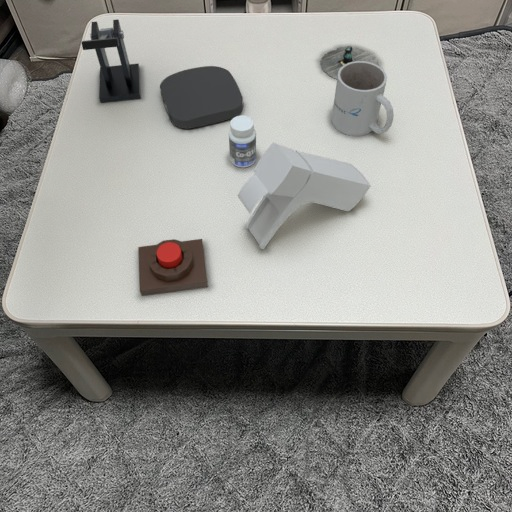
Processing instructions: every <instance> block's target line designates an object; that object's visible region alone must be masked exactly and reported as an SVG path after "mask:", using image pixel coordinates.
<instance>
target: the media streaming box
mask: <svg viewBox="0 0 512 512" xmlns="http://www.w3.org/2000/svg"><path fill="white" fill-rule="evenodd" d="M159 91H160V95H161V98H162V102H163V104H164V108H165V110H166V113H167V115H168V117H169V119H170V121H171V123H172V125H174V126H176V127H177V128H180V129H195V128H199V127H204V126H207V125H213V124H216V123H221V122H225V121H228V120H232V119H233V118H234V117H236V116H240V114H241V113H242V112H243V108H244V101H243V94H242V92H241V89H240V87H239V84H238V83H237V81H236V79H235V78H234V76H233V74H232V73H231V72H230V71H229V70H228V69H227V68H224V67H221V66H215V65H205V66H198V67H192V68H187V69H184V70H180V71H178V72H174V73H172V74H170V75H168V76H166V77H165V78H164V79H163V80H162V81H161V82H160V84H159Z"/></svg>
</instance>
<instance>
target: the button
mask: <svg viewBox="0 0 512 512" xmlns="http://www.w3.org/2000/svg"><path fill="white" fill-rule="evenodd" d="M157 258H158V261H159V263H160V265H161V266H162V267H164V268H174V267H176V266H178V265H179V264H180V263H181V261H182V253H181V249H180V247H179V246H178V245H177V244H175V243H172V242H168V243H164V244H162V245H161V246H160V247H159V248H158V250H157Z"/></svg>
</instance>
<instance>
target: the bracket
mask: <svg viewBox="0 0 512 512" xmlns="http://www.w3.org/2000/svg"><path fill="white" fill-rule="evenodd" d="M90 27H91V28H90V29H91V30H90V33H89V36H90V40H97V39H99V38H100V33H99V30H100V27H99V24H98V21H91V26H90ZM112 28H113V35H114V38H118V42H119V46H118V47H116V50H117V54H118V58H119V61H120V64H121V65H110V62H109V59H108V55H107V52H106V48H100V49H94V50H95V53H96V57H97V60H98V64H99V86H98V89H99V91H98V99H99V103H101V104H103V103H113V102H122V101H131V100H132V101H133V100H140V99H142V95H141V94H142V93H141V92H142V91H141V90H142V89H141V68H140V63H130V61H129V56H128V52H127V47H126V44H125V41H124V39H125V33H124V30H122V29H121V24H120V20H119V19H117V18H116V19H113V20H112Z"/></svg>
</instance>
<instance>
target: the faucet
mask: <svg viewBox="0 0 512 512" xmlns="http://www.w3.org/2000/svg"><path fill="white" fill-rule="evenodd" d="M253 173H254V174H253V175H252V176H250V178H248V180H247V181H246V182H245V183H244V184H243V186H242V187H241V189H240V190H239V191H238V193H237V195H236V196H237V198H238V199H239V200H240V202H241V203H242V205H243V206H244V208H245V209H246V210H247V212H248V213H249V215H251V216H250V218H249V219H248V221H247V223H246V224H245V227H246V229H247V230H248V231H249V232H250V234H251V235H252V237H253V238H254V240H255V241H256V242H257V244H258V247H259V248H260V250H265V249H266V247H267V246H268V244H269V242H270V241H271V240H272V238H273V237H274V236H275V234H276V233H277V232H278V231H279V229H280V228H281V226H282V225H283V224H284V223H285V222H286V220H287V219H288V218H290V216H291V215H292V214H293V213H294V211H295V210H296V209H298V208H300V207H301V206H303V205H305V204H308V203H315V204H318V205H321V206H326V207H329V208H334V209H336V210H341V211H345V212H350V211H351V210H352V209H354V208H355V207H356V206H357V205H358V203H359V202H361V200H362V199H363V198H364V197H365V195H366V194H367V193H368V191H369V190H370V188H371V184H370V182H369V181H368V179H367V178H366V176H365V175H364V173H362V172H361V171H360V170H359V169H358V168H357V167H356V166H355V165H354V164H352V163H351V162H346V161H342V160H337V159H334V158H329V157H325V156H321V155H317V154H311V153H309V152H308V153H307V152H303V151H300V150H296V151H295V150H294V149H292V148H290V147H287V146H285V145H281V144H279V143H276V142H273V141H272V143H271V144H270V145H269V147H268V148H267V149H266V150H265V151H264V153H263V154H262V156H260V158H259V160H258V162H257V163H256V165H255V167H254V169H253ZM254 208H255V209H254ZM253 210H254V211H253ZM251 213H252V214H251Z"/></svg>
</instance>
